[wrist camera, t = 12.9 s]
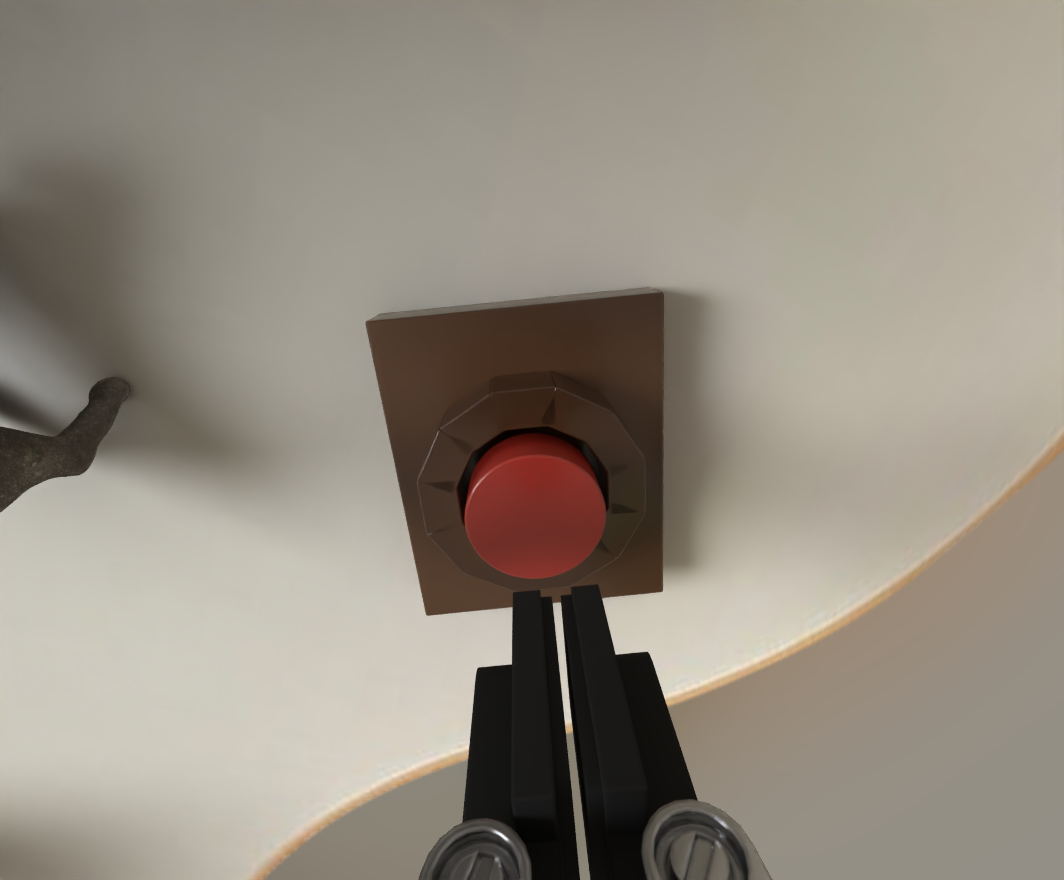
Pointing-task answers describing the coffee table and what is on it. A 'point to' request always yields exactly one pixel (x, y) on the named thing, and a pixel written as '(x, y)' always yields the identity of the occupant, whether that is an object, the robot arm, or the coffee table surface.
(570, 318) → the switch block
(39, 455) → the dog figurine
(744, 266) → the coffee table surface
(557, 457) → the button
